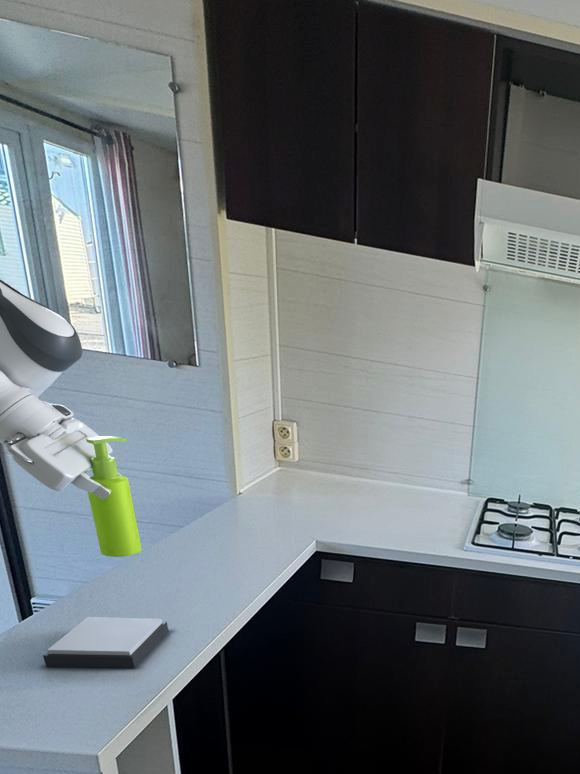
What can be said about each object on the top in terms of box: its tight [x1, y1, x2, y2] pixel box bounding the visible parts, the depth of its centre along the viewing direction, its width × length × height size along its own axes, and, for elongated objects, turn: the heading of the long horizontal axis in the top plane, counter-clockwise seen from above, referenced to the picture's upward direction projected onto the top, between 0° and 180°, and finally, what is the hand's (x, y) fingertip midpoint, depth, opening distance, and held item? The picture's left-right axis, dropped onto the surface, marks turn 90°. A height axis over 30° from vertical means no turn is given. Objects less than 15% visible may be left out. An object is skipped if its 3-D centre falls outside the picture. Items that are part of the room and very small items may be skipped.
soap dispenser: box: [86, 435, 143, 558], centre depth 108 cm, size 6×7×20 cm
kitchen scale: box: [42, 616, 170, 669], centre depth 109 cm, size 13×13×3 cm
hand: (115, 489), depth 108 cm, fingers closed on soap dispenser, 6 cm apart
